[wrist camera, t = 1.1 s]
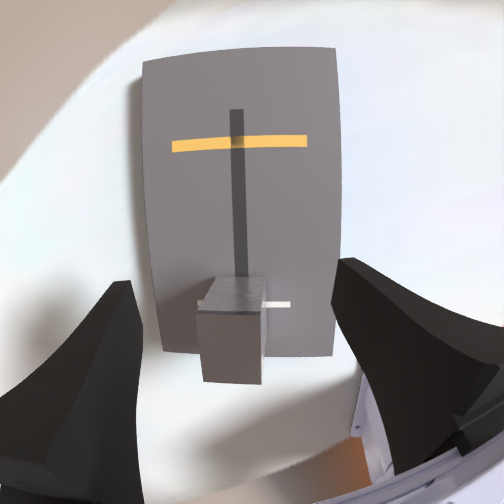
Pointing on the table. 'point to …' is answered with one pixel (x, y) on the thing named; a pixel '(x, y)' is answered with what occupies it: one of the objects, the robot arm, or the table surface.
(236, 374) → the fader knob
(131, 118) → the table surface
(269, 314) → the fader console
